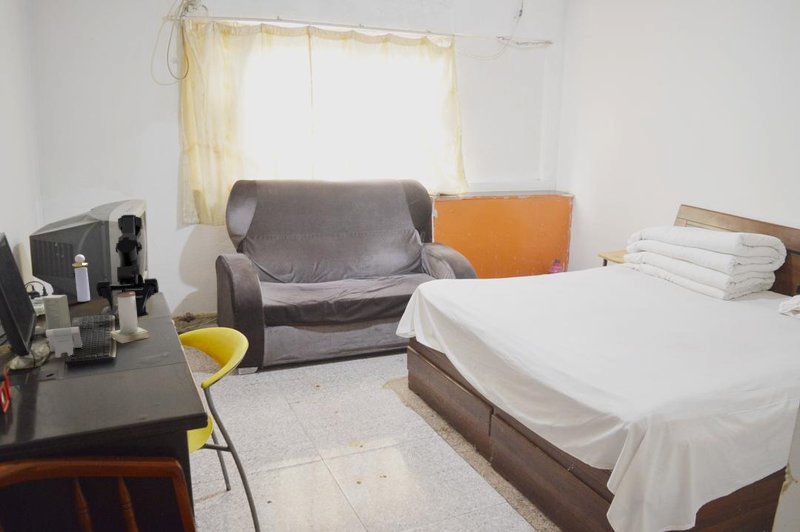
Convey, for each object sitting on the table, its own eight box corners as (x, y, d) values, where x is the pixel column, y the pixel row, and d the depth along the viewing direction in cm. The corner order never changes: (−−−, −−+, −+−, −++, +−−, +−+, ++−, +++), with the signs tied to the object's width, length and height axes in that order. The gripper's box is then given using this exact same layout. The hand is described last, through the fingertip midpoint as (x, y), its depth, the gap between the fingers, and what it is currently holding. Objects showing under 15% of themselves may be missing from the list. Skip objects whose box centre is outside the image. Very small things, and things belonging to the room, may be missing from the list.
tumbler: (129, 327, 200) (126, 290, 198) (142, 329, 198) (138, 292, 196) (116, 332, 195) (112, 294, 193) (129, 334, 193) (125, 295, 191)
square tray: (137, 331, 203) (137, 325, 203) (149, 337, 197) (148, 330, 197) (110, 337, 197) (109, 331, 196) (121, 343, 191) (121, 336, 190)
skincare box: (71, 328, 208) (68, 294, 205) (63, 332, 203) (59, 297, 201) (54, 327, 208) (51, 294, 206) (46, 331, 204) (42, 297, 202)
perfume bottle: (95, 301, 246) (90, 253, 243) (83, 304, 241) (78, 255, 237) (85, 299, 249) (80, 252, 245) (73, 302, 243) (68, 255, 240)
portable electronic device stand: (82, 347, 187) (80, 322, 186) (80, 355, 180) (77, 328, 179) (51, 351, 184) (48, 325, 182) (48, 358, 177) (44, 332, 175)
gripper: (94, 257, 194) (90, 298, 186) (155, 255, 200) (154, 294, 191) (100, 276, 203) (97, 315, 195) (158, 273, 208) (158, 311, 200)
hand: (127, 308), depth 195 cm, fingers open, 9 cm apart
